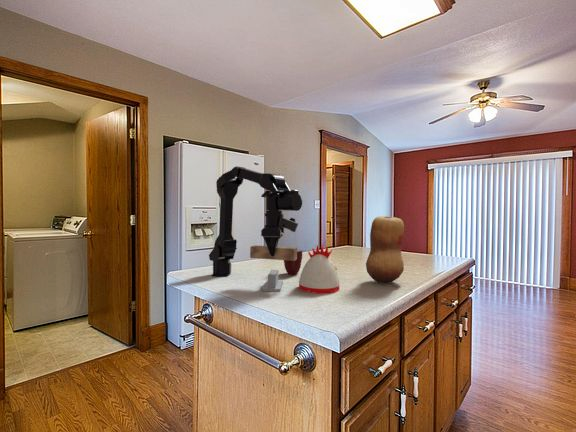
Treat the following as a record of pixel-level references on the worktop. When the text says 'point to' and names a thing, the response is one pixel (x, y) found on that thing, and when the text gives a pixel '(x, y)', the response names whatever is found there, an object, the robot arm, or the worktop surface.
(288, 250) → the walnut bar
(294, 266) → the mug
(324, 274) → the kitchen timer
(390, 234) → the butternut squash
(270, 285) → the ridge block
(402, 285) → the worktop surface
